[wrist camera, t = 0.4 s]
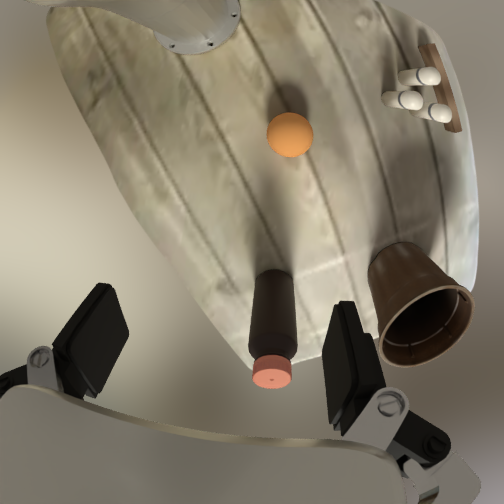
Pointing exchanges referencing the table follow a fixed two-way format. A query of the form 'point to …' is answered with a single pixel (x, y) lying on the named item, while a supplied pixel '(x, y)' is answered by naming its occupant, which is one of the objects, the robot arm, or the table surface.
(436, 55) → the back wall
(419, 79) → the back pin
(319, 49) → the table surface
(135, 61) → the table surface
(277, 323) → the bottle
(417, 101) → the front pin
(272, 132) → the ball
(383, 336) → the plant pot
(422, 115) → the pin
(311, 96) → the table surface
